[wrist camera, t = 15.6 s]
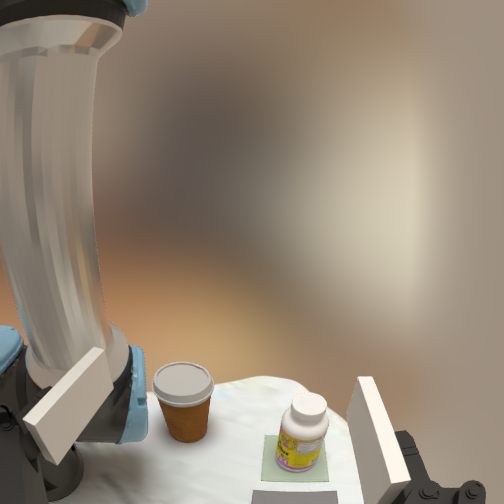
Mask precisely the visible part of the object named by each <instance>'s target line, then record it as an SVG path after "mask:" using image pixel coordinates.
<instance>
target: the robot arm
mask: <svg viewBox="0 0 504 504" xmlns="http://www.w3.org/2000/svg"><path fill="white" fill-rule="evenodd" d="M147 4H148V0H0V256H1V260H2V263H3V267H4V271H5V275H6V278H7V282H8V285H9V288H10V292H11V295H12V298H13V301H14V304H15V307H16V309H17V312H18V315H19V318H20V321H21V323H22V326H23V328H24V331H25V333H26V336H27V338H28V341H29V345H28V346H27V345H24V340H23V337H22V336H21V335H20V333H19V331H18V330H16V329H15V328H13V327H11V326H0V504H48V502H51V501H56V500H59V499H62V498H64V497H66V496H67V495H69V494H70V493H71V492H73V491H74V490H75V488H76V487H77V486H78V484H79V483H80V481H81V478H82V475H83V460H82V457H81V455H80V453H79V451H78V449H77V447H76V445H75V444H74V442H75V441H78V442H101V443H115V444H122V443H125V442H138V441H141V440H143V439H144V438H145V437H146V436H147V433H148V410H147V402H146V400H147V395H146V392H147V390H146V372H145V357H144V352H143V349H142V348H140V347H138V346H134V345H128V343H127V340H126V337H125V335H124V333H123V332H122V331H121V330H120V328H119V327H118V326H116V325H115V324H114V323H112V322H111V321H109V320H108V318H107V312H106V307H105V301H104V296H103V290H102V284H101V277H100V270H99V262H98V254H97V246H96V236H95V227H94V226H95V225H94V212H93V196H92V120H93V119H92V118H93V103H94V91H95V81H96V71H97V63H98V60H99V58H100V57H101V56H102V54H103V53H104V52H106V51H107V50H108V49H109V48H110V47H112V46H113V45H114V44H115V43H116V42H117V41H119V40H120V38H121V36H122V31H123V26H124V20H125V16H126V15H128V16H129V17H135V16H136V15H138V14H142V13H144V12H145V11H146V10H147V7H148V5H147ZM346 418H347V422H348V427H349V431H350V436H351V440H352V445H353V449H354V454H355V459H356V464H357V468H358V473H359V478H360V483H361V489H362V494H363V499H364V504H485V498H486V492H485V488H484V486H483V485H482V484H481V483H480V482H478V481H474V480H472V481H467V482H466V483H464V484H463V485H462V486H461V487H460V488H442V487H440V485H439V484H438V483H436V482H434V481H431V480H430V478H429V476H428V474H427V471H426V469H425V466H424V464H423V461H422V459H421V456H420V455H419V451H418V449H417V448H416V444H415V442H414V439H413V437H412V436H411V435H410V434H409V433H408V432H407V431H406V430H405V431H398V432H394V431H393V428H392V425H391V423H390V420H389V418H388V415H387V413H386V410H385V407H384V405H383V403H382V400H381V397H380V395H379V393H378V390H377V387H376V385H375V383H374V380H373V378H372V377H358V378H357V381H356V385H355V388H354V392H353V395H352V398H351V401H350V404H349V408H348V411H347V414H346Z"/></svg>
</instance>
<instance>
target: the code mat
mask: <svg viewBox="0 0 504 504" xmlns="http://www.w3.org/2000/svg"><path fill="white" fill-rule="evenodd" d="M252 504H338V498H337V491H321V492H279V491H260V490H253V495H252Z"/></svg>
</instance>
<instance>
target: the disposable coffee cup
mask: <svg viewBox="0 0 504 504" xmlns="http://www.w3.org/2000/svg"><path fill="white" fill-rule="evenodd" d="M151 386H152V390H153V392H154V394H155V395H156V397H157V398H158V401H159V404H160V406H161V409H162V412H163V415H164V418H165V420H166V423H167V426H168V428H169V431H170V434H171V435H172V437H173V438H175V439H176V440H178V441H181V442H186V443H191V442H196V441H198V440H200V439H202V438H203V437H204V435H205V433H206V429H207V421H208V413H209V406H210V398H211V394H212V392H213V390H214V381H213V379H212V377H211V376H210V373H209V372H208V371H207V370H206V369H205V368H204V367H202V366H200V365H198V364H195V363H191V362H174V363H170V364H167V365H164V366H162V367H161V368H159V369H158V370H157V371H156V373H155V375H154V379H153V380H152V384H151Z"/></svg>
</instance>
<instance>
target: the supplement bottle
mask: <svg viewBox="0 0 504 504" xmlns="http://www.w3.org/2000/svg"><path fill="white" fill-rule="evenodd" d="M326 408H327V403H326V401H325V399H324V398H323V397H322V396H320V395H318V394H314V393H301V394H299V395H297V396H295V397H294V399H293V400H292V404H291V407H290V408H289V409H287V410H286V411H285V413H284V414H283V416H282V421H281V427H280V432H279V437H278V442H277V447H276V453H275V457H276V460H277V462H278V464H279V465H280V466H281V467H283V468H284V469H286V470H289V471H294V472H300V471H304V470H307V469H309V468H311V467H312V466H313V465H314V464H315V463H316V461H317V458H318V456H319V453H320V450H321V447H322V444H323V441H324V438H325V435H326V432H327V429H328V426H329V419H328V416H327V414H326V413H325V412H326Z"/></svg>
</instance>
